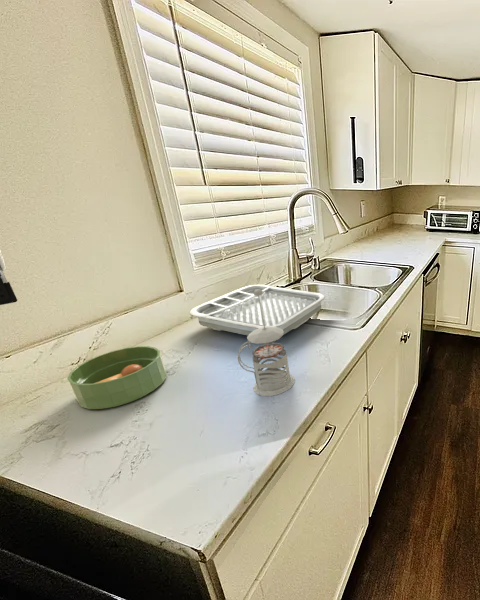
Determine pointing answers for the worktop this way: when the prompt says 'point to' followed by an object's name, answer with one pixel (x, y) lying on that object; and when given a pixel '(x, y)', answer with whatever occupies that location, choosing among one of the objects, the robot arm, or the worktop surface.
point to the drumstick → (124, 372)
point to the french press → (272, 377)
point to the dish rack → (258, 309)
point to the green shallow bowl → (120, 388)
